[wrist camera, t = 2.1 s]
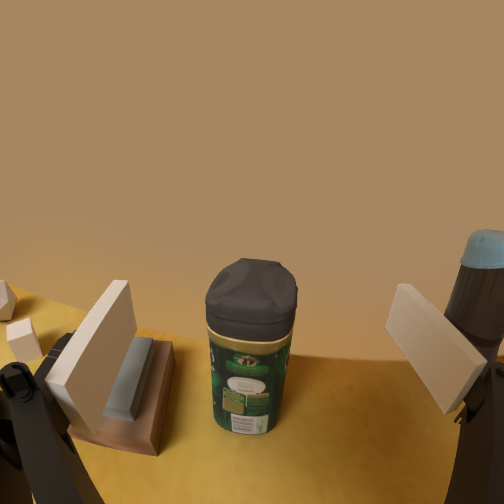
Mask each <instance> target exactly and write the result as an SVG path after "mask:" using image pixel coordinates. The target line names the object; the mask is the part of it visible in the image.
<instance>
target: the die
mask: <svg viewBox="0 0 504 504" xmlns="http://www.w3.org/2000/svg"><path fill="white" fill-rule="evenodd" d="M16 300H17V297H16V295H15V294H14V293H13V291H12V290H11V289H10V287H9V286H8V284H7V283H6V282H5V280H0V321H5V320H11V319H12V315H13V311H14V307H15V304H16Z"/></svg>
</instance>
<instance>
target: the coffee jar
mask: <svg viewBox="0 0 504 504" xmlns="http://www.w3.org/2000/svg"><path fill="white" fill-rule="evenodd" d="M297 291H298V288H297V286H296V281H295V278H294V277H293V275H292V274H291V273H290V272H289V271H288V270H287V269H286V268H284V267H283V266H282V265H281V264H280V263H279V262H275V261H267V260H257V259H246V258H241V259H240V260H238V261H237V262H235V263H233V264H231V265H229V266H227V267H226V268H224V269H223V270H222V271H221V272H220V273H219V274H218V275H217V277H216V278H215V280H214V281H213V282H212V284H211V286H210V288H209V290H208V292H207V294H206V300H205V303H206V325H207V330H208V335H209V343H210V358H211V373H212V394H213V411H214V418H215V420H216V422H217V423H218V425H220V426H221V427H222V428H224V429H226V430H229V431H232V432H235V433H239V434H246V435H258V434H263V433H266V432H268V431H270V430H271V429H272V428H273V427H274V426H275V424H276V422H277V419H278V415H279V411H280V406H281V401H282V395H283V389H284V383H285V377H286V372H287V365H288V360H289V353H290V346H291V339H292V332H293V326H294V320H295V313H296V312H295V311H296V308H297Z"/></svg>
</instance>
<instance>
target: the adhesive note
mask: <svg viewBox="0 0 504 504" xmlns="http://www.w3.org/2000/svg"><path fill="white" fill-rule="evenodd" d="M7 341H8V343H9V346H10V348H11V350H12V352H13V354H14V356H15V358H16V360H17V362H22V363H27V362H30V361H33V360H36V359H39V358H41V357H43V355H42V351H41V348H40V344H39V340H38V338H37V335H36V333H35V330H34V328H33V325H32V323H31V320H30V318H27V319H24V320H21V321H18V322H15V323H12V324H9V325H7Z"/></svg>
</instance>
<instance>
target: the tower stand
mask: <svg viewBox="0 0 504 504" xmlns="http://www.w3.org/2000/svg"><path fill="white" fill-rule="evenodd" d="M76 331H77V330H75V331H73V333H72V334H74V333H75V332H76ZM174 366H175V357H174V351H173V345H172V341H157V340H153V338H143V337H134V338H133V340H132V342H131V344H130V347H129V349H128V351H127V354H126V356H125V358H124V361H123V363H122V366H121V368H120V370H119V373H118V375H117V378H116V380H115V383H114V385H113V388H112V391H111V393H110V396H109V398H108V401H107V404H106V406H105V409H104V412H103V414H102V417H101V420H100V423H99V426H98V428H97V431H96V434H95V437H92V436H88V435H84V434H81V433H77V432H76V431H75V430H74V428H73V427H72V425H71V424H70V425H69V427H68V430H67V431H68V433H69V434H70V436H71V437H73V438H76V439H79V440H83V441H86V442H90V443H93V444H97V445H101V446H105V447H109V448H114V449H118V450H123V451H128V452H133V453H139V454H145V455H152V456H158V452H159V446H160V439H161V434H162V428H163V422H164V417H165V411H166V406H167V401H168V396H169V390H170V385H171V380H172V376H173V371H174Z"/></svg>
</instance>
